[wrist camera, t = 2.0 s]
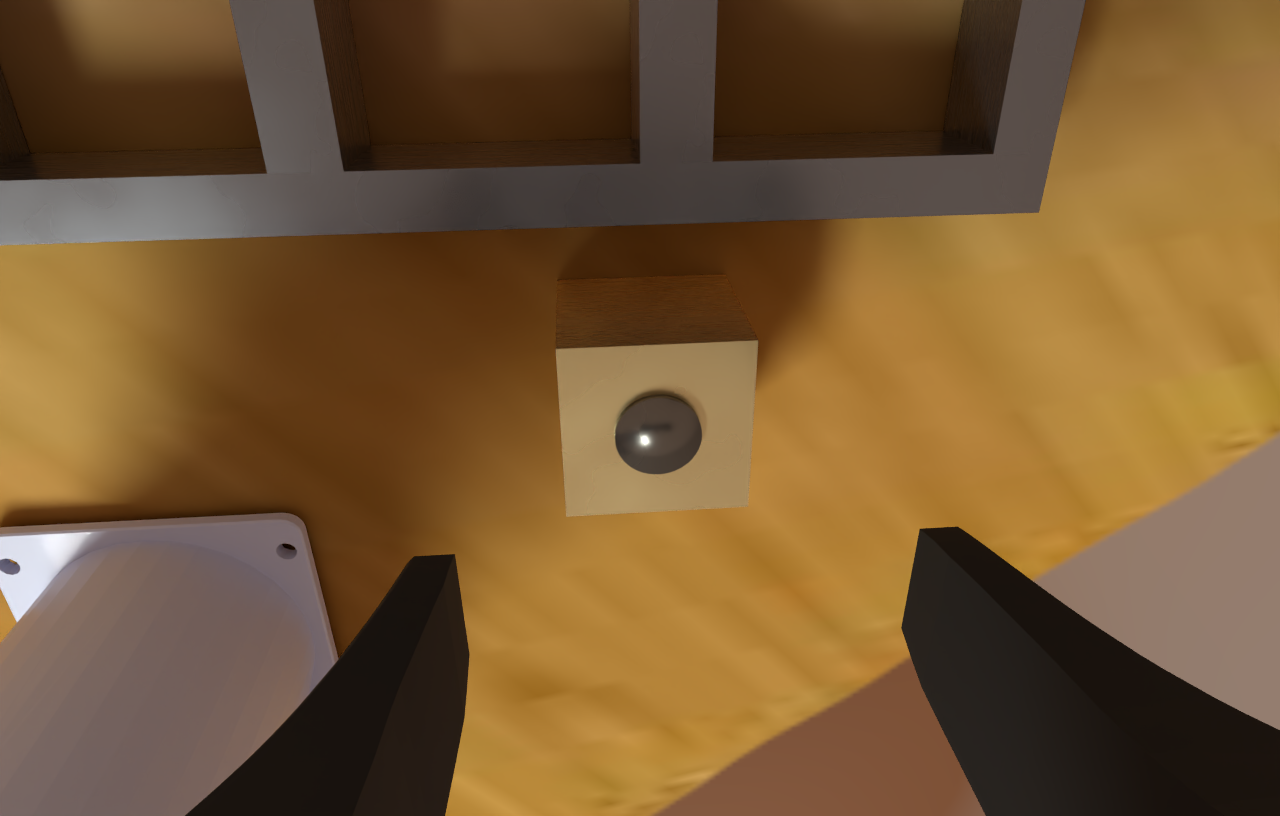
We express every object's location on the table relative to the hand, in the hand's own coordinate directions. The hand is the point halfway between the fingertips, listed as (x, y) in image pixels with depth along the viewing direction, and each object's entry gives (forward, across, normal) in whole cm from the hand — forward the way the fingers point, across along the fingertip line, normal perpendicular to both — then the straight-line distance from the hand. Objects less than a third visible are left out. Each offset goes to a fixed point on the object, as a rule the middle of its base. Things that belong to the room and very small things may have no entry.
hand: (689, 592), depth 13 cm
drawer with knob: (+9, 0, 0) cm, 9 cm away
